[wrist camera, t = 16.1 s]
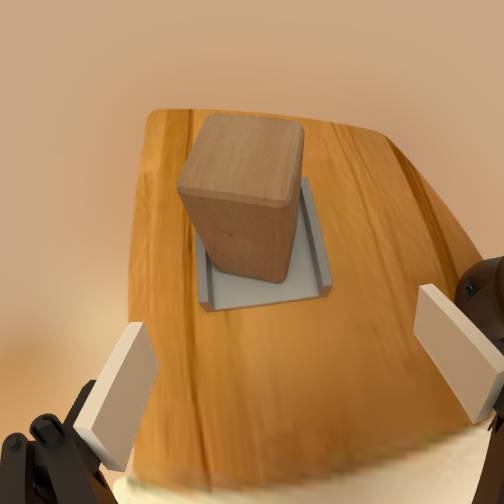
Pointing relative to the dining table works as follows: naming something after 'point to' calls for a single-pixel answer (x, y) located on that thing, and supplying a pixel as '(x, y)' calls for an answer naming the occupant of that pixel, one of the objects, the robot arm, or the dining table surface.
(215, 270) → the end cap cradle
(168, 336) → the dining table surface
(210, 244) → the wooden block
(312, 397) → the dining table surface
